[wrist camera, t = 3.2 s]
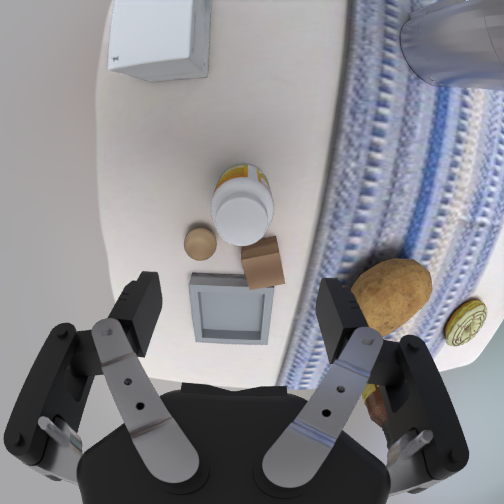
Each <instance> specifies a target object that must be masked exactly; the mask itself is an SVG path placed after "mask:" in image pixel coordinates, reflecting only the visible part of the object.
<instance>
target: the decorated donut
mask: <svg viewBox="0 0 504 504" xmlns="http://www.w3.org/2000/svg"><path fill="white" fill-rule="evenodd" d="M486 317H487V307H486V306H485V304H484V303H482V302H481V301H478V300H471V301H469V302H466V303H465V304H463V305H461V307H459V308H458V309H457V310H456V311H455V312H454V313H453V314H452V316H451V318H450V319H449V321H448V323H447V325H446V328H445V337H446V340H447V341H446V343H447V344H448V345H450V346H459V345H462V344H464V343H466V342H468V341H470V340H471V339H472V338H473V337H474V336H475V335H476V334H477V333H478V331H479V330H480V328H481V327H482V326H483V324H484V321H485V319H486Z"/></svg>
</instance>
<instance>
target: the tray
mask: <svg viewBox="0 0 504 504" xmlns="http://www.w3.org/2000/svg"><path fill="white" fill-rule="evenodd" d="M189 290H190V299H191V308H192V317H193V325H194V333H195V341H196V342H203V343H221V344H247V345H267V343H268V336H269V328H270V320H271V311H272V303H273V295H274V286H270V287H265V288H260V289H254V290H249V287H248V283H247V279H246V276H245V275H232V274H207V273H192V276H191V279H190V283H189Z"/></svg>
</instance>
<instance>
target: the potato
mask: <svg viewBox="0 0 504 504" xmlns="http://www.w3.org/2000/svg"><path fill="white" fill-rule="evenodd" d="M350 291H351V292H352V293H353V294H354V296H355V298H356V300H357V303H358V304H359V306H360V308H361V310H362V312H363V314H364V317H365V319H366V321H367V323H368V325H369V327H370V328H373V329H375V330H377V331H378V332H379V333H380V334H381V336H382V337H383V336H385V335H387V334H389V333H390V332H392V331H394V330H395V329H397V328H399V327H400V326H402V325H403V324H404V323H405V322H407V321H408V320H409V319H410V318H411V317H412V316H413V315H414V314H416V313H417V312H418V311H419V310H420V309H421V308H422V307H423V306H424V305H425V304H426V303H427V301H428V300H429V298H430V295H431V292H432V280H431V276H430V272H429V271H428V270H427V269H426V268H425V267H423V266H422V265H421V264H419V263H418V262H416V261H415V260H413V259H398V258H392V259H389V260H386V261H382V262H380V263H379V264H377V265H375V266H373V267H371V268H370V269H368V270H367V271H365V272H364V273H362V274H361V275H360V276H359V277H358V279H357V280H356V281H355V283H354V284H353V286H352V288H351V290H350Z"/></svg>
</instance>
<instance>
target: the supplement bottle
mask: <svg viewBox="0 0 504 504" xmlns="http://www.w3.org/2000/svg"><path fill="white" fill-rule="evenodd" d="M273 214H274V202H273V198H272V194H271V190H270V187H269V183H268V180H267V178H266V176H265V175H264V173H263V172H262V171H261V170H260V169H258V168H257V167H255V166H252V165H249V164H238V165H235V166H232V167H230V168H229V169H227V170H226V171H225V172H224V173H223V174H222V176H221V178H220V180H219V182H218V184H217V187H216V189H215V191H214V194H213V197H212V200H211V216H212V219H213V221H214V223H215V226H216V230H217V232H218V234H219V235H220V236H221V237H222V239H224V240H225V241H226V242H228V243H230V244H232V245H236V246H247V245H251V244H253V243H255V242H257V241H258V240H260V239H261V238H262V237H263V235H264V234H265V232H266V230H267V227H268V226H269V225H270V223H271V221H272V218H273Z"/></svg>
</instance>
